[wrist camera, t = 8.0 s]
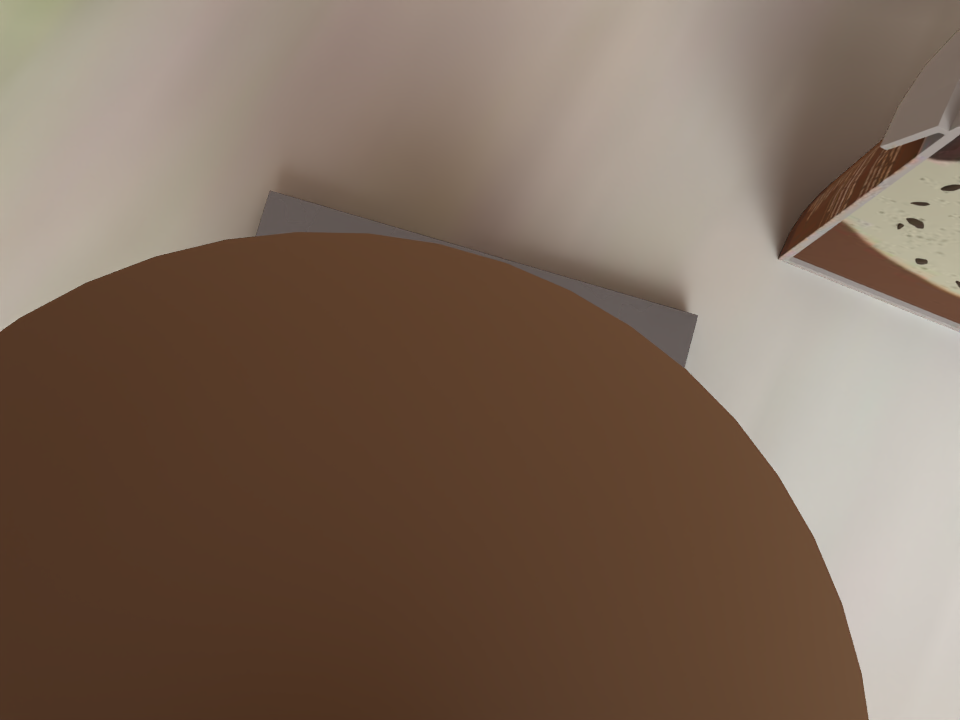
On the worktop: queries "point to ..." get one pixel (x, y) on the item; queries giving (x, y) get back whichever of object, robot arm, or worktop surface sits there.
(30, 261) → the worktop surface
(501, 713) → the brown wooden cylinder
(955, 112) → the food container
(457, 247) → the bracket
